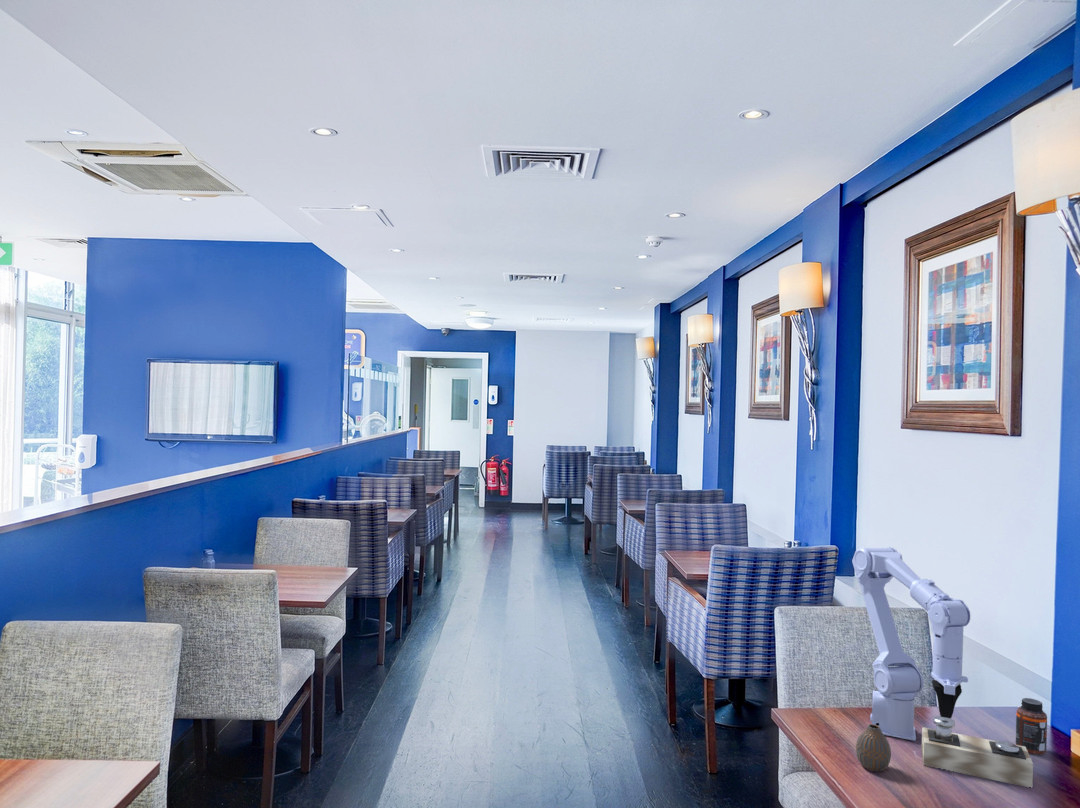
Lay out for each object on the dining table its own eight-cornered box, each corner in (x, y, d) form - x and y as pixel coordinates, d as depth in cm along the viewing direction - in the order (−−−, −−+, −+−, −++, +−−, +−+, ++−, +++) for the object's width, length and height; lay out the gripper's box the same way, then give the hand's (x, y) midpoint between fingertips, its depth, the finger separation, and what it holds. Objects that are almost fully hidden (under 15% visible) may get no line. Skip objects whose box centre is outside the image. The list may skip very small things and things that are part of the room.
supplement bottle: (1051, 757, 167) (1052, 707, 167) (1022, 754, 168) (1023, 704, 168) (1039, 746, 173) (1040, 697, 173) (1010, 742, 174) (1012, 694, 174)
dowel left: (933, 743, 162) (933, 721, 162) (932, 735, 166) (932, 714, 166) (955, 747, 161) (955, 725, 161) (953, 740, 164) (954, 718, 164)
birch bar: (923, 765, 161) (924, 740, 161) (921, 748, 169) (922, 725, 169) (1032, 788, 152) (1033, 762, 152) (1024, 769, 161) (1025, 745, 161)
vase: (888, 763, 161) (889, 723, 161) (892, 777, 155) (893, 735, 155) (854, 757, 164) (855, 717, 164) (856, 771, 157) (857, 729, 157)
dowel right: (996, 769, 157) (997, 747, 157) (993, 761, 161) (994, 739, 161) (1019, 774, 155) (1020, 751, 155) (1016, 766, 159) (1017, 743, 159)
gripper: (972, 668, 155) (970, 732, 155) (964, 648, 168) (962, 708, 168) (934, 662, 158) (932, 725, 158) (929, 643, 171) (928, 702, 171)
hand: (945, 716), depth 163 cm, fingers closed
